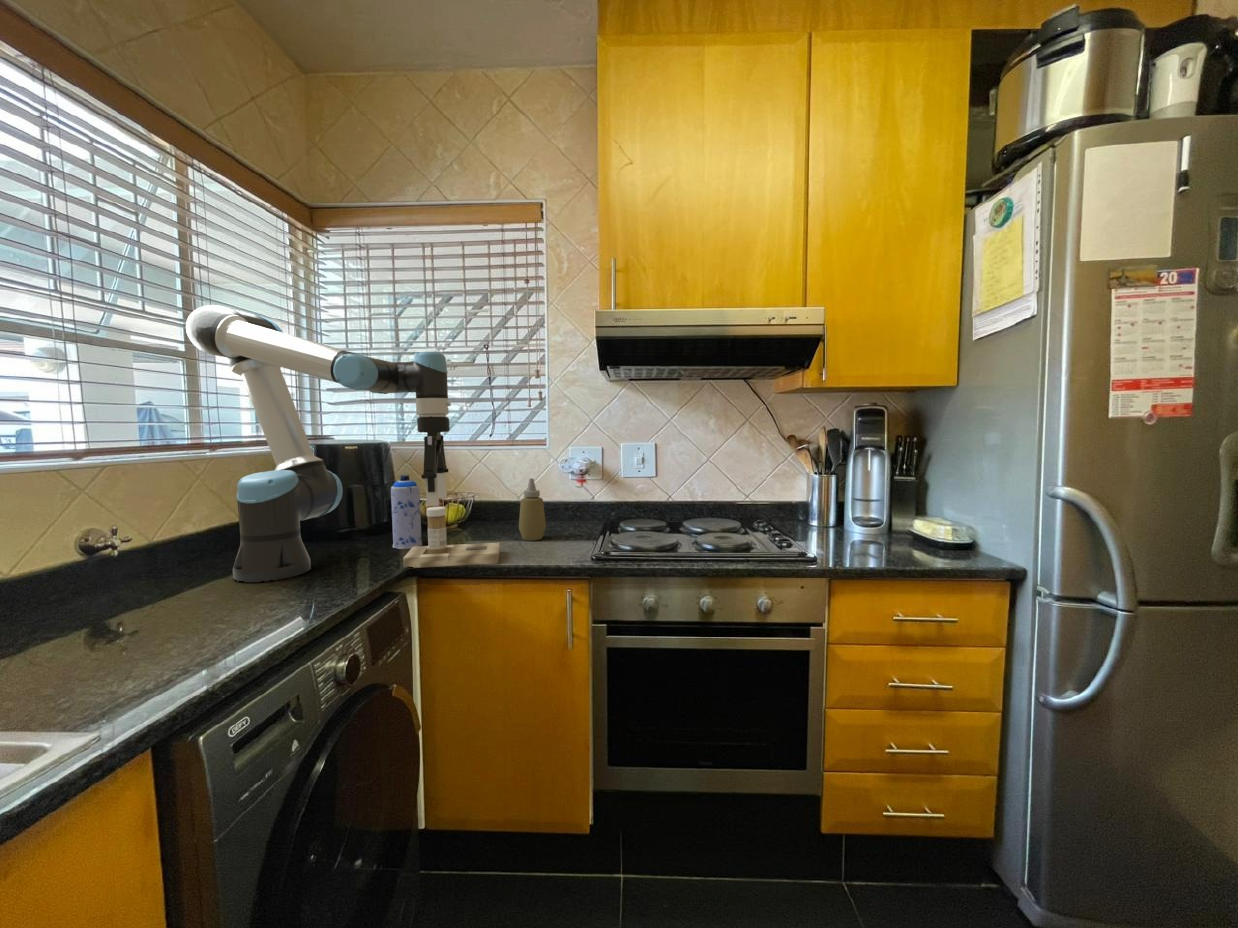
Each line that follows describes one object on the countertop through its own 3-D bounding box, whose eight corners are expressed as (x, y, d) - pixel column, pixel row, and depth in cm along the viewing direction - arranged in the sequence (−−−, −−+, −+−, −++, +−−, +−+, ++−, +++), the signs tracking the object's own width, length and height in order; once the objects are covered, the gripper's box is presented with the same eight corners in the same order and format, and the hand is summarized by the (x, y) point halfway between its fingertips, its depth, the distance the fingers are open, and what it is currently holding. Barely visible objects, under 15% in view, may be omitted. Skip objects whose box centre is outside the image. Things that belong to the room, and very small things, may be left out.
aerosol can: (419, 541, 156) (416, 473, 154) (425, 546, 149) (422, 475, 148) (390, 544, 152) (387, 475, 150) (395, 550, 145) (391, 477, 144)
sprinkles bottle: (441, 557, 137) (440, 505, 136) (450, 560, 134) (449, 507, 133) (425, 560, 134) (423, 507, 133) (433, 563, 131) (432, 509, 130)
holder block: (403, 568, 127) (403, 556, 127) (413, 556, 139) (412, 545, 138) (498, 563, 131) (497, 552, 131) (499, 551, 143) (499, 541, 142)
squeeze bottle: (549, 536, 162) (548, 477, 160) (542, 542, 154) (541, 480, 152) (523, 535, 162) (521, 477, 161) (515, 541, 154) (513, 480, 153)
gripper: (441, 415, 120) (446, 508, 121) (454, 416, 144) (458, 494, 146) (406, 415, 118) (411, 510, 120) (425, 417, 143) (429, 495, 144)
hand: (437, 501), depth 133 cm, fingers open, 13 cm apart
